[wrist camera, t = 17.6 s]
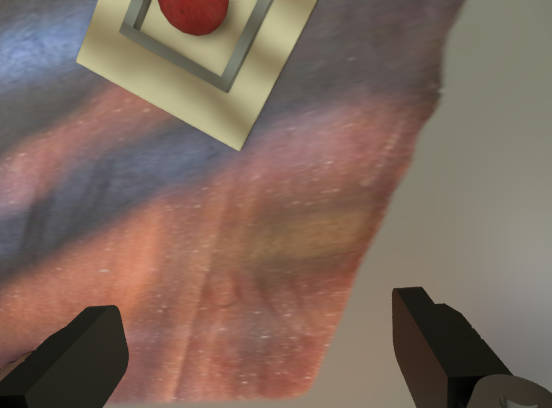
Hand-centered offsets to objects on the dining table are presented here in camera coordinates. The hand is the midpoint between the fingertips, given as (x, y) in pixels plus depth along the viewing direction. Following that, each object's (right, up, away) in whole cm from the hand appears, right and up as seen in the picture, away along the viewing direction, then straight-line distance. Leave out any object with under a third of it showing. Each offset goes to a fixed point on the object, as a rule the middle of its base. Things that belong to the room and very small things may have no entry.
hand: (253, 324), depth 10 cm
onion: (-6, +22, +23) cm, 32 cm away
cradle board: (-6, +22, +24) cm, 33 cm away
